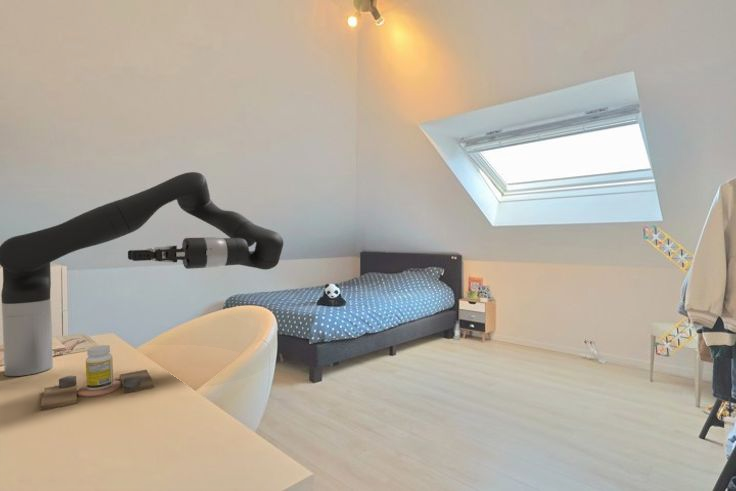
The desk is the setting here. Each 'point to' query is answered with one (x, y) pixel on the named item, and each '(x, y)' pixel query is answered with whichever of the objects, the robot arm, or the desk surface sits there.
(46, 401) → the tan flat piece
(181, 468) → the desk surface
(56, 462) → the desk surface
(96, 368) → the supplement bottle
